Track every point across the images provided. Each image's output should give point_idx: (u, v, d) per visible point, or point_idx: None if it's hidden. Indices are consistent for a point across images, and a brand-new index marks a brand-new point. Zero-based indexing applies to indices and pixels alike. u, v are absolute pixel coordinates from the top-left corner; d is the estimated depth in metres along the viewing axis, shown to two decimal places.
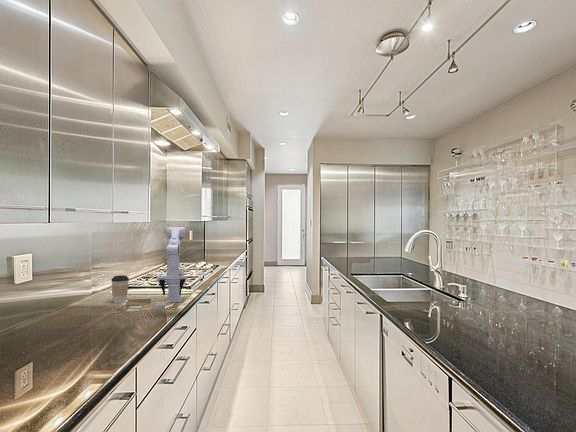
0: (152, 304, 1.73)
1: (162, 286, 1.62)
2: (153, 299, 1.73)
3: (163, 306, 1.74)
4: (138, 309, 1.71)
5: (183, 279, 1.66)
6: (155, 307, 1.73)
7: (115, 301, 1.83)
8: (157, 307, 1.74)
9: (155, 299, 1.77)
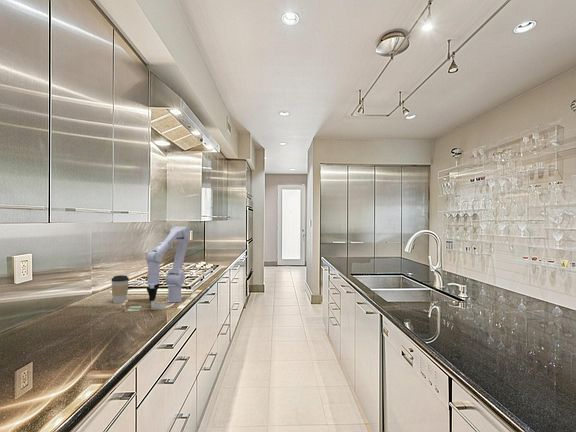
0: (153, 304, 1.73)
1: None
2: None
3: (164, 306, 1.74)
4: (138, 309, 1.71)
5: None
6: (156, 307, 1.73)
7: (115, 301, 1.83)
8: (158, 307, 1.74)
9: None
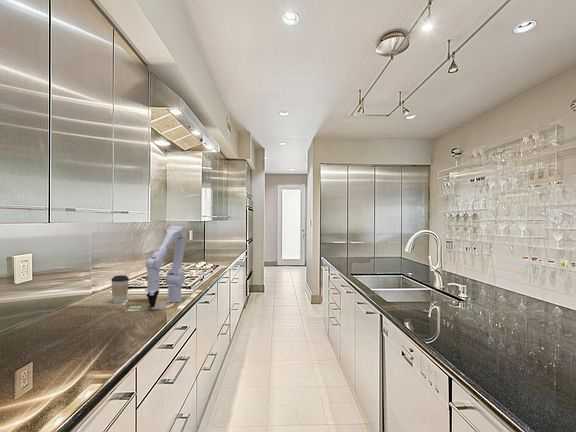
0: None
1: None
2: None
3: (164, 306, 1.75)
4: (138, 309, 1.71)
5: None
6: (156, 307, 1.73)
7: (115, 301, 1.83)
8: (158, 307, 1.74)
9: None
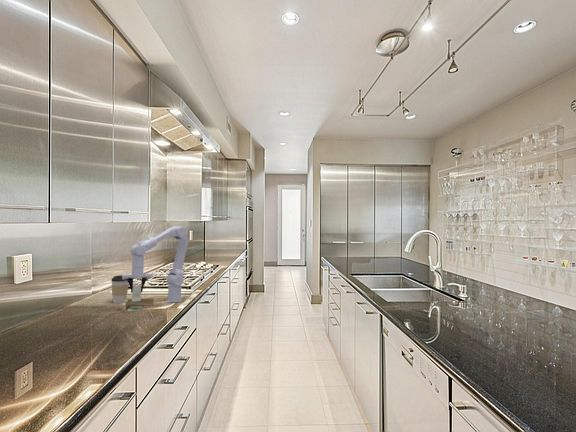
0: None
1: None
2: None
3: (132, 298, 1.69)
4: (138, 309, 1.71)
5: None
6: (132, 296, 1.72)
7: (115, 301, 1.83)
8: (132, 297, 1.71)
9: (140, 289, 1.74)
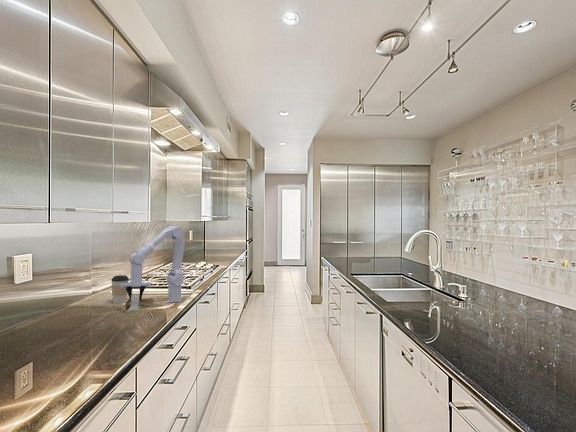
0: (131, 301, 1.73)
1: None
2: None
3: None
4: (138, 309, 1.71)
5: None
6: None
7: (115, 301, 1.83)
8: None
9: None
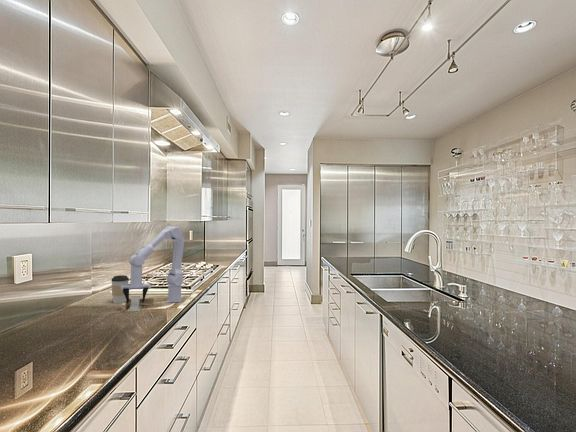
0: (131, 302, 1.74)
1: None
2: None
3: None
4: (138, 309, 1.71)
5: None
6: (130, 306, 1.72)
7: (115, 301, 1.83)
8: None
9: (139, 299, 1.74)
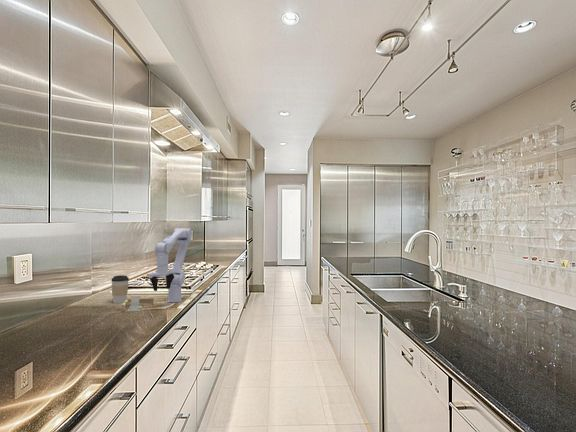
0: (131, 302, 1.74)
1: None
2: None
3: None
4: (138, 309, 1.71)
5: None
6: (130, 306, 1.72)
7: (115, 301, 1.83)
8: None
9: (139, 299, 1.74)
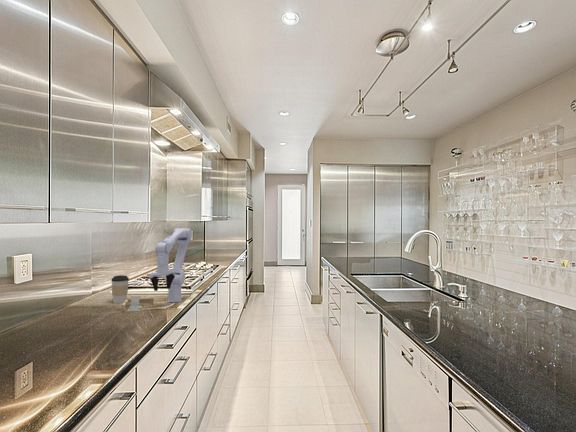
0: (131, 302, 1.74)
1: None
2: None
3: None
4: (138, 309, 1.71)
5: None
6: (130, 306, 1.72)
7: (115, 301, 1.83)
8: None
9: (139, 299, 1.74)
